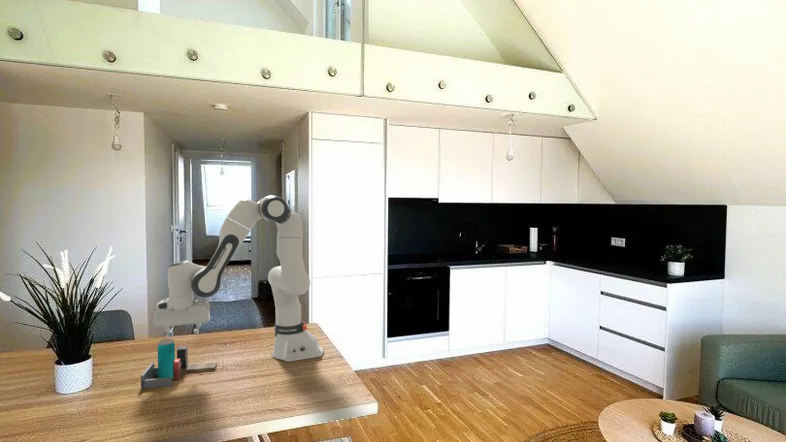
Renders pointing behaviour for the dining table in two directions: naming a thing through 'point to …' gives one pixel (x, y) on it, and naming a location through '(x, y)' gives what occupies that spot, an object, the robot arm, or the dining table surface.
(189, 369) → the brown long flat block
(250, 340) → the dining table surface
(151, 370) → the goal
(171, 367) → the beverage can
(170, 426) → the dining table surface
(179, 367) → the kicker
